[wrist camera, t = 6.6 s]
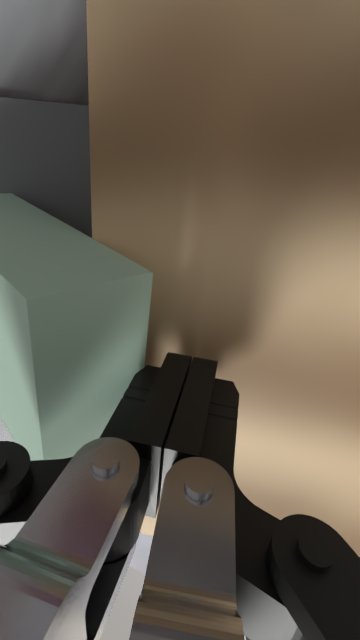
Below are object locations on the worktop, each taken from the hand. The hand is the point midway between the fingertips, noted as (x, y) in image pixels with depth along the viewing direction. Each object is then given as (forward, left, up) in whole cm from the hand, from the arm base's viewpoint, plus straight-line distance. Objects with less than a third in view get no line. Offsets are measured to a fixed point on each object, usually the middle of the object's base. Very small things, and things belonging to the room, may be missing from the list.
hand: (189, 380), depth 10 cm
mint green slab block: (-1, -5, -2) cm, 5 cm away
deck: (0, +3, -5) cm, 6 cm away
